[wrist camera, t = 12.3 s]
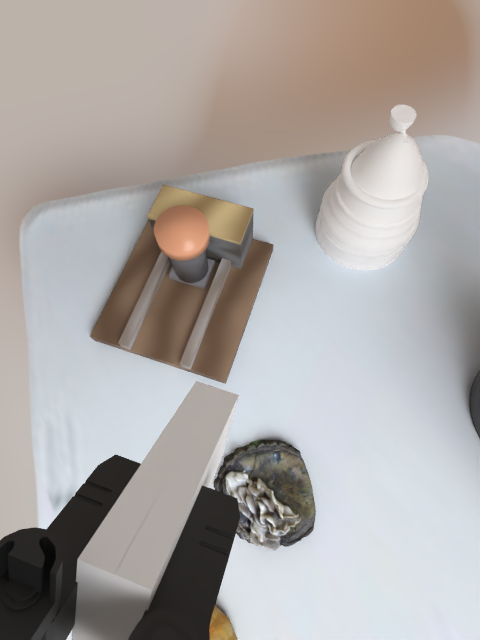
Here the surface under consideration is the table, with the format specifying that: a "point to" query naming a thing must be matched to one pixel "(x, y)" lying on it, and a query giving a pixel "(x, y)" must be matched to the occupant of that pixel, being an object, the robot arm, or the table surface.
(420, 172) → the honey pot
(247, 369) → the table surface
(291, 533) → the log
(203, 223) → the knob
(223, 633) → the pastry
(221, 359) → the brown sliding knob board
